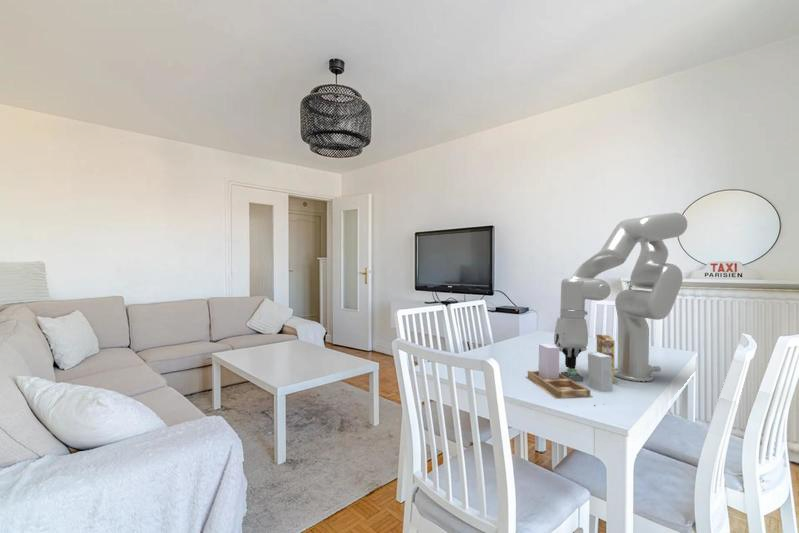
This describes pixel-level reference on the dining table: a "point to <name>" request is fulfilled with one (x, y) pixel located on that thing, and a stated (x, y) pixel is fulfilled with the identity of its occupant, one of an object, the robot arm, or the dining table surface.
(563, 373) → the grey square holder
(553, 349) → the seated billet
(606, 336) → the candy box
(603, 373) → the skincare box
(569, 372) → the button
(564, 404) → the dining table surface
